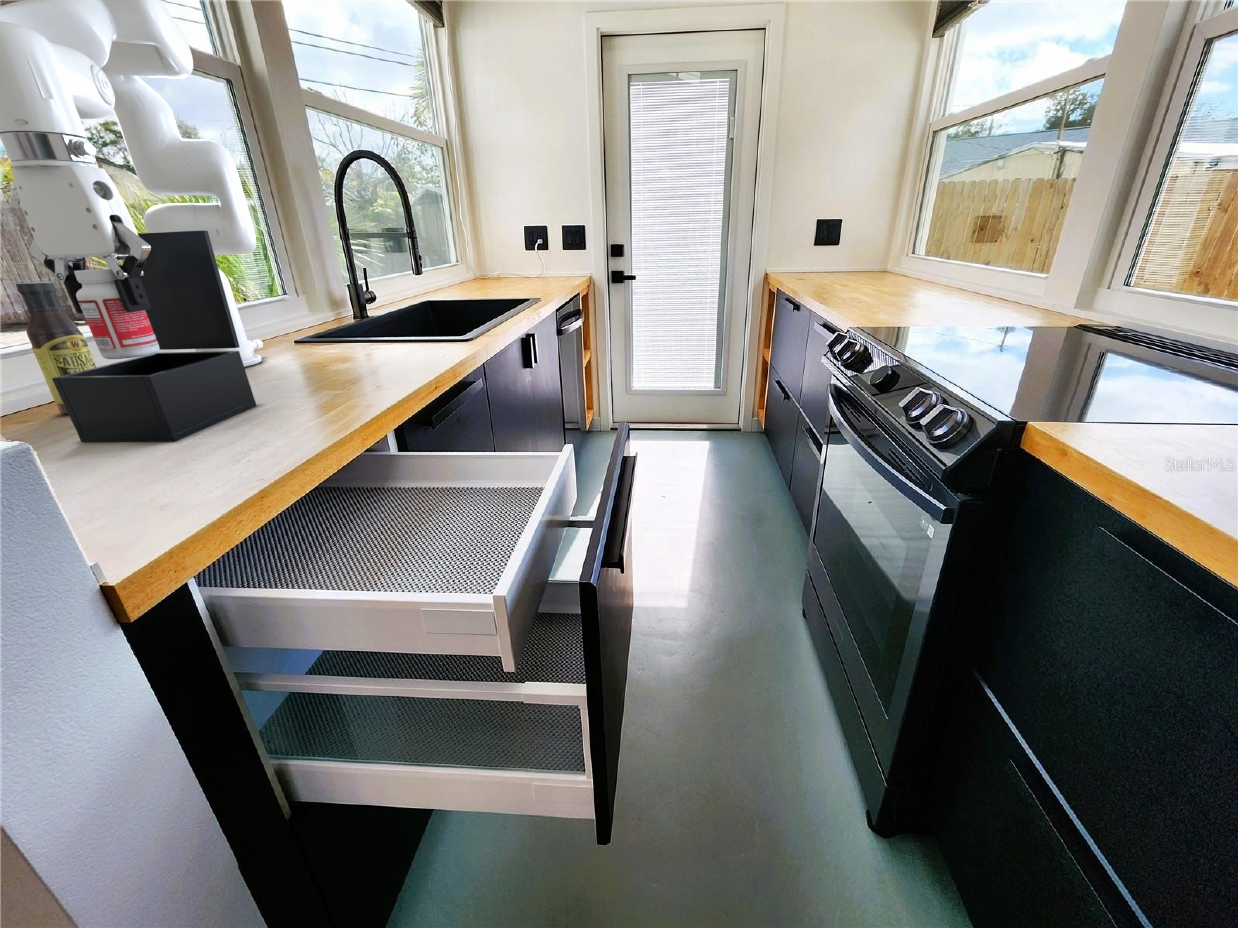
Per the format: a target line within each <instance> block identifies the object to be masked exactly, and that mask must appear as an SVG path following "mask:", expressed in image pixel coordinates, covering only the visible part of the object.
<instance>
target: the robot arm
mask: <svg viewBox="0 0 1238 928" xmlns="http://www.w3.org/2000/svg"><path fill="white" fill-rule="evenodd" d="M193 70H194V58H193V54H192V50H191V48H190V46H189V43H188V41H187V38H186V37H185V35H184V33H183V31H182V30H181V28H180V27H179V25H178V23H177V22H176V21H175V19H174V18H173V16H172V15H171V13H170V12H169V10H168V8H167V7H166V6H165V4H164V3H163V1H162V0H19V1H15V2H11V3H7V4H3V5H0V140H1V143H2V145H3V147H4V150H5V153H6V154H7V158H8V159H9V161H10V165H11V167H12V168H11V172H12V175H13V176H12V177H13V182H14V185H15V190H16V193H17V196H18V199H19V202H20V206H21V209H22V212H23V214H24V218H25V220H26V222H27V225H28V227H29V229H30V233H31V234H32V236H33V238H32V241H31V244H30V247H29V248H28V249H29V250H28V252H29V253H30V255H31V256H32V257H34V258H35V259H36V260H38V261H39V262H41V263H42V264H44V267H46V268H47V269H48V270H49V271H51V273H53V274H54V275H55V278H56V279H57V280H58V281H60V282H63V285H64V287H65V289H66V292H67V294H68V296H69V298H70V302H71V304H72V306H73V308H74V310H75V312H76V313H77V314H80V315H81V314H83V311H82V309H81V307H80V305H79V302H78V300H77V297H76V293H77V291H78V290H80V289H81V288H82V284H81V283H79V282H78V281H77V278H76V276H75V273H74V271H79V270H87V269H86V267H87V266H86V258H97V257H101V258H102V259H103V261H104V262H105V263H106V265H107V266H108V268H111V270H112V271H113V272H114V274H115V275H116V276H117V277H118V278H119V279H117V280H114V283H115V286H116V288H117V291H118V293H119V296H120V299H121V301H122V304H123V306H124V309H125V310H126V311H127V312H136V311H142V310H149V309H151V305H150V303H149V300H148V297H147V295H146V292H145V289H144V287H143V284H142V281H141V279H140V278H142V277H143V276H144V273H143V269H144V267H145V265H146V259H147V257H148V255H149V253H150V251H151V247H150V245H149V244H148V243H147V242H145V241H144V240H143V239H141V238H140V237H139V236H138V234H137V233H138V231H137V229H136V226H135V223H134V222H133V219H132V217H131V215H130V213H129V210H128V208H127V206H126V204H125V202H124V200H123V197H122V195H121V194H120V192H119V190H118V188H117V187H116V185H115V183H114V181H113V180H112V178H111V176H110V175H109V173H108V172H107V170H106V169H105V168H102V167H99V166H98V162H97V161H96V157H95V155H96V154H97V150H96V147H95V146H94V144H93V143H92V142H90V141H89V140H88V136H87V133H86V131H85V129H84V125H83V123H82V120H97V119H98V120H99V119H103V118H106V117H108V116H109V115H111V113H112V112H113V113H114V116H115V118H116V121H117V123H118V127H119V129H120V132H121V135H122V138H123V141H124V143H125V146H126V149H127V152H128V154H129V157H130V160H131V163H132V166H133V169H134V171H135V173H136V175H137V178H138V180H139V181H140V183H141V185H142V186H143V187H144V188H145V189H146V190H148V191H149V192H150V193H153V194H156V195H161V196H174V197H175V196H176V197H178V196H179V197H180V196H191V197H192V196H211V197H214V198H216V199H217V200H218V202H206V203H205V202H203V203H202V202H201V203H199V202H198V203H197V202H186V203H183V202H181V203H180V202H179V203H161V204H156V205H153V206H151V207H149V208H148V209H147V210H146V211H145V212H144V215H143V224H144V228H145V231H146V233H155V232H179V231H202V230H204V231H208V233H209V237H210V241H211V244H212V248H213V252H214V255H215V256H230V255H232V256H233V255H245V254H246V255H247V254H251V253H252V252H254V251H255V250H256V249H257V243H258V241H257V235H256V231H255V227H254V223H253V220H252V216H251V212H250V210H249V206H248V203H247V199H246V196H245V192H244V190H243V185H242V182H241V178H240V176H239V173H238V169H237V166H236V164H235V162H234V160H233V157H232V156H231V154H230V152H229V151H228V150H227V148H225V146H224V145H222V144H221V143H219V142H217V141H215V140H211V139H205V138H204V139H203V138H183V137H182V136H181V135H180V131H179V128H178V126H177V122H176V119H175V116H174V113H173V110H172V108H171V107H170V105H169V104H168V103H167V101H166V100H165V99H164V98H163V97H162V96H160V94H158V93H157V92H156V91H155V90H154V89H153V88H152V87H150V85H148V84H147V83H146V82H145V81H143V80H142V79H141V78H143V77H144V78H161V79H162V78H164V79H176V80H177V79H185V78H188V77H190V76H191V74H192V73H193ZM140 77H141V78H140ZM121 262H122V264H121ZM69 263H71V264H72V265H71V264H69ZM218 270H219V273H220V277H221V281H222V284H223V288H224V292H225V295H226V299H227V302H228V306H229V310H230V313H231V317H232V321H233V324H234V328H235V331H236V335H237V339H238V342H239V346H240V347H239V348H219V349H194V352H208V351H239V352H240V356H241V359H242V362H243V365H244V368H245V367H246V368H247V367H251V366H253V365H257V364H260V363H261V362H262V360H263V358H262V356H261V354H256V353H255V352H254V351H255V350H258V349H262V348H263V347H264V342H263V341H262V340H261V339H254V340H251V339H248V338H247V334H246V331H245V329H244V324H243V322H242V319H241V315H240V311H239V310H238V306H237V303H236V300H235V297H234V294H233V293H234V292H233V291H232V287H231V284H230V283H231V282H229V281H230V280H229V279H228V277H227V276H226V274H225V273H224V272H223V270H221V269H220V268H218Z"/></svg>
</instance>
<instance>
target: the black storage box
mask: <svg viewBox="0 0 1238 928" xmlns="http://www.w3.org/2000/svg"><path fill="white" fill-rule="evenodd" d="M52 380H53V382H54V384H55V387H56V389H57V391H58V393H59V395H60V397H61V399H62V401H63V403H64V406H65V408H66V410H67V412H68V414H67V415H68V416H69V418H70V421H71V422H72V425H73V426H74V429H75V431H76V433H77V436H78V438H79V440H80V442H81V443H142V442H143V443H144V442H145V443H147V442H149V443H154V442H155V443H157V442H161V443H162V442H177V441H179V440H181V439H185V438H186V437H188V436H191V435H193V434H195V433H198V432H200V431H203V430H205V429H207V428H209V427H211V426H214V425H217V424H218V423H220V422H223V421H225V420H228V419H230V418H232V417H235V416H236V415H239V414H242V413H244V412H246V411H248V410H251V409H253V408H255V407H257V403H256V400H255V395H254V393H253V390H252V387H251V384H250V381H249V378H248V374H247V371H246V368H245V367H244V365H243V362H242V359H241V356H240V352H239V351H208V352H196V351H171V352H169V351H167V352H166V351H165V352H163V351H162V352H156V353H154V354H150V355H146V356H141V357H133V358H128V359H125V360H121V361H117V362H112V363H107V364H105V365H100V366H96V368H92V369H88V370H84V371H80V372H75V373H71V374H67V375H63V376H59V377H55V378H52Z"/></svg>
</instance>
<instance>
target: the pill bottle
mask: <svg viewBox="0 0 1238 928" xmlns="http://www.w3.org/2000/svg"><path fill="white" fill-rule="evenodd" d="M74 273H75V276H76V278H77V281H78V282H79V283H81V284H82V288H81V289H80V290H78V291H77V293H76V297H77V300H78V302H79V305H80V307H81V309H82V311H83V313H82V314H83V316H84V318H85V320H86V323H87V326H88V328H89V330H90V333H91V335H92V338H93V340H94V343H95V344H96V347H97V349H98V351H99V353H100V355H101V357H102V358H104V359H106V360H123V359H133V358H137V357H141V356H146V355H150V354H154V353H159V351H160V350H159V349H160V348H159V345H158V342H157V339H156V337H155V334H154V332H153V329H152V326H151V324H150V321H149V319H148V316H147V314H146V311H145V310H142V311H136V312H127V311H126V310H125V309H124V306H123V304H122V301H121V299H120V296H119V293H118V291H117V288H116V286H115V283H114V280H117V279H119V278H118V277H117V276H116V275H115V274H114V272H113V271H112V270H111V268H110V267H108V268H96V269H94V268H93V269H86V270H79V271H74Z"/></svg>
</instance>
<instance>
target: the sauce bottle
mask: <svg viewBox="0 0 1238 928" xmlns="http://www.w3.org/2000/svg"><path fill="white" fill-rule="evenodd" d="M15 287H16V290H17V292H18V293H19V294H20V295H21V296H22V299H23V302H24V303H25V306H26V308H27V309H26V311H27V313H28V314H29V318H28V320H27V322H26V335H27V338H28V340H29V342H30V344H31V350H32V351H33V354H34V356H35V359H36V361H37V363H38V366H39V368H40V370H41V372H42V375H43V378H44V380H45V382H46V385H47V386H48V389H49V391H50V394H51V396H52V398H53V401H54V403H55V404H56V405H57V407H58V410H59V412H60V413H61V414H64V415H69V414H68V412H67V410H66V408H65V406H64V403H63V401H62V399H61V397H60V395H59V393H58V391H57V389H56V387H55V384H54V382H53V380H52V378H55V377H59V376H63V375H67V374H71V373H75V372H80V371H84V370H88V369H92V368H96V367H97V366H96V363H95V360H94V358H93V355H92V353H91V350H90V347H89V344H88V342H87V340H86V337H85V335H84V334H83V333H82V332H81V330H80V329H79V328H78V327H77V325H76V323H75V322H74V321H73V320H72V319H70V317H69V316H68V315H67V314H66V313H65V311H64V308H63V306H62V305H61V302H60V300H59V298H58V295H57V288H56V286H55V284H54V282H52V281H32V282H17V283H15Z"/></svg>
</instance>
